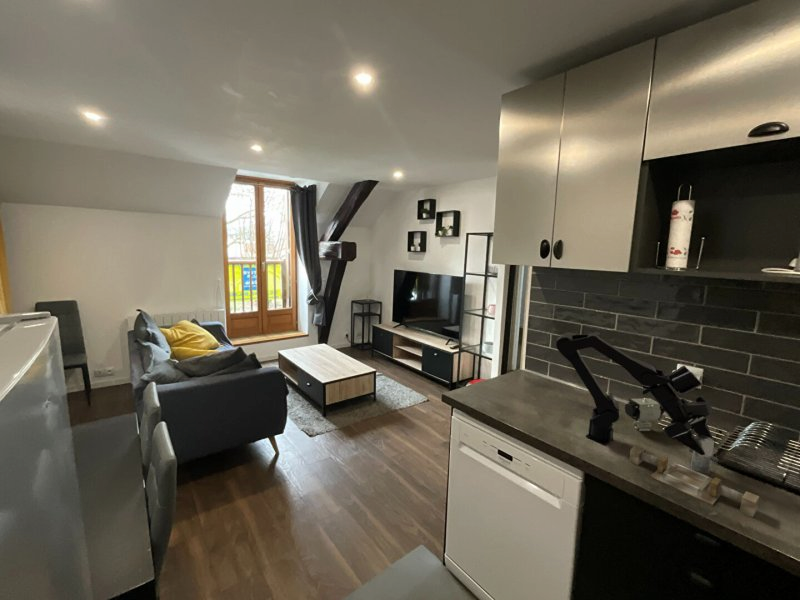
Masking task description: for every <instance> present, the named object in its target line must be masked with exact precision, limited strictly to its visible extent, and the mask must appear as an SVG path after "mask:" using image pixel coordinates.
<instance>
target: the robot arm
mask: <svg viewBox="0 0 800 600" xmlns="http://www.w3.org/2000/svg"><path fill="white" fill-rule="evenodd" d="M557 338H558V339H557V341H556V344H555V346H556V349H557V351H558V352H559V353H560V354H561V356H562V357H564V358H565V359H566V360H567V361H568V362H569V363H570V364H571V365H572V367H573V368H574V370H575V372H576V373H577V375H578V376H579V378H580V380H581V381H582V383H583V384H584V386H585V387H586V389H587V390H588V392H589V394H590V395H591V397H592V399H593V402H594V405H595V407H594V408H593V409H592V410H591V411H592V413H591V414H592V415H591V418H590V419H589V425H588V433H587V434H585V438H588V439H589V440H592V441H595V442H597V443H598V444H601V445H603V446H605V445H607V444H609V443H610V442H612V441H613V440H614V431H615V430H614V428H613V425H614V424H613V423H615V422H617V421H618V420H619V418H620V413H619V412H620V406H619V405H620V404H619V402H618V401H617V400H616V399H615V397H614V394H613V393H609V394H608V393H606V392H605V391H604V389H603V387H601V385H600V383H599V382H598V380H597V378H596V377H595V376H594V374H593V372H592V370H590V368H589V366H588V365H587V363H586V362H585V360H584V358H583V357H582V355H581V351H580V350H584V349H589V348H592V349H594V350H596V351H597V352H598V353H600V354H602V356H603V355H604V357H607V358H608V359H609V360H611V361H613V362H614V363H615V364H617V365H619V366H620V367H622V368H623V369H625V370H626V371H627V372H628V374H629V375H631V376H632V377H633V378H634V380H636V381H637V382H638V383H639V384H641V385H642V388H643V389H642V392H641V393H642V395H646V394H648V393H650V395H651V396H652V398H653V399H654V400H656V401H657V402H658V403H659V404H660V406H661V407H662V408H661V409H660V410H661V411H662V412H664V413H666V415H667V416H668V417H669V418H670V419H671V420H670V421H669V422H670V423H669V424H668V425H666V427H664V429H663V432H664V434H665V436H666V437H668V439H672V440H674V441H677V442H679V443H680V444H682V445H683V446H686V447H687V448H689V449H690V448H691V449H692V450H694V451H695V452H697V453H699V454H700V455H705V452H704V450H703V449H702V447H701V446H700V444H699V443H698V441H697V440H696V438H695V433H696V435H702V436H706V437H709V438H711V439H713V440H714V446H715V445H716V441H715V438H714V437H713V434H712V433H711V431H710V428H709V426H708V421H709V419H710V418H709V417H710V415H711V413H714V410H713V407H712V405H713V403H712V402H710V400H709V399H707V398H706V397H705V396H698V397H696V398H695V400H694V401H693V400H692V401H687V399H686V398H680V397H679V396H678V395H677V393H680V394H686V393H688V392H690V391H692V390H694V389H696V388H698V387H701V386H703V383H702V382H701V381H700V379H698V378H697V376H696V375H695V374H694V373H693V372H692V371H690V369H688V368H687V367H686V366H685V365H681V366H680V367H679V368H678V369H675V370H673V371H672V372H669V373H668V372H667V371H663V370H661V369H657V368H655V367H654V366H653V365H652V364H649V363H648V362H645V361H643V360H640V359H638V358H637V359H636V358H634V357H631V356H630V355H628V354H627V353H625V352H624V351H622V350H620V349H619V348H617V347H616V346H614V345H613V344H611V343H609V342H608V341H606V340H605V339H603V338H601V337H600V336H599V335H597V334H596V333H587V334H570V333H563V334H561V335H559V337H557ZM669 384H670V385H669ZM673 389H674V390H675V391H674V390H673ZM676 392H677V393H676Z"/></svg>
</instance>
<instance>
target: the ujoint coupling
mask: <svg viewBox="0 0 800 600" xmlns="http://www.w3.org/2000/svg"><path fill="white" fill-rule="evenodd" d="M694 437H695V438H696V440H697V441H698V443H699V444H700V446H701V447H702V449H703V450H704V452H705V455H700V454H699V453H697V452H695V451H694V450H692V449H691V448H689V450H688V452H690V453H691V454H692V456H691V462H690V469H691V470H694V471H696V472H699V473H701V474H703V475H706V476H708V475H710V474H709V473H710V472H711V466H712V462H715V463H716V462H718V461H719V459H718V457H716V456H713V453H714V446H715V445H714V441H715V439H714V438H713V439H714V440H713V439H711V438H709V437H706V436H702V435H698V434H696V435H694Z"/></svg>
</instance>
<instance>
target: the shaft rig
mask: <svg viewBox="0 0 800 600" xmlns="http://www.w3.org/2000/svg"><path fill="white" fill-rule="evenodd" d="M629 450H630V451H629V459H628V460H629V463H631V464H634V465H637V466H639V465H640V464H641V463H642V462H646V463H648V464H651V465H653V466H656V467H657V470H655V472H653V473H652V474H651V475H650V478H653V479H655V480H657V481H659V482H661V483H663V484H665V485H667V486H669V487H672V488H674V489H676V490H678V491H681V492H683V493H685V494H687V495H689V496H691V497H693V498H695V499H698V500H700V501H702V502H704V503H706V504H708V505H710V506H714V504H715V503H716V502H717V500H718V499H719V498H720V497H721V496H724V497H725V498H727V499H730V500H733V501H735V502H737V503H739V504H740V508H739V512H740V513H742V514H745V515H746V516H749V517H751V518H754V516H755V515H756V513H757V510H758V506H759V501H760V496H759V495H757V494H754V493H752V492H749V491H745V493H742V492H740V491H738V490H736V489H732V488H730V487H728V486H726V485H723V484H721V483H722V479H721V478H718V477H716V476H715V477H714V478H713V477H710V476H708V475H705V474H701V473H699V472H696V471H694V470H692V469H691V468H688V467H687V466H685V465H684V466H683V465H682V464H679V463H677V462H674V463H673V464H671V465H668V463H669V457H667V456H666V455H663V456H662V457H660V458H659V457H657V456H655V455H653V454H649V453H647V452H645V451H646V450H645V448H644V447H641V446H639V445H634V446H633V447H632V448H631V449H629Z"/></svg>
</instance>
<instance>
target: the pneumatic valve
mask: <svg viewBox="0 0 800 600" xmlns="http://www.w3.org/2000/svg"><path fill="white" fill-rule="evenodd" d="M661 408H662V407H661V406H660V404H659V403H658V402H657V401H656V399H655V398H653V397H651V398H647V397H643V398H629V399H628V401H627V403H625V405H624V411H625V414H626V415H627V416H628V417H630V418H632V419H633V420H634V421H633V422H632V423H633V428H635V429H636V430H638V431H639V432H651V428H652V422H650V421H660V420H661V418H662V416H663V415H664V413H665V411H664V412H662V411H661V410H660V409H661Z"/></svg>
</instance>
